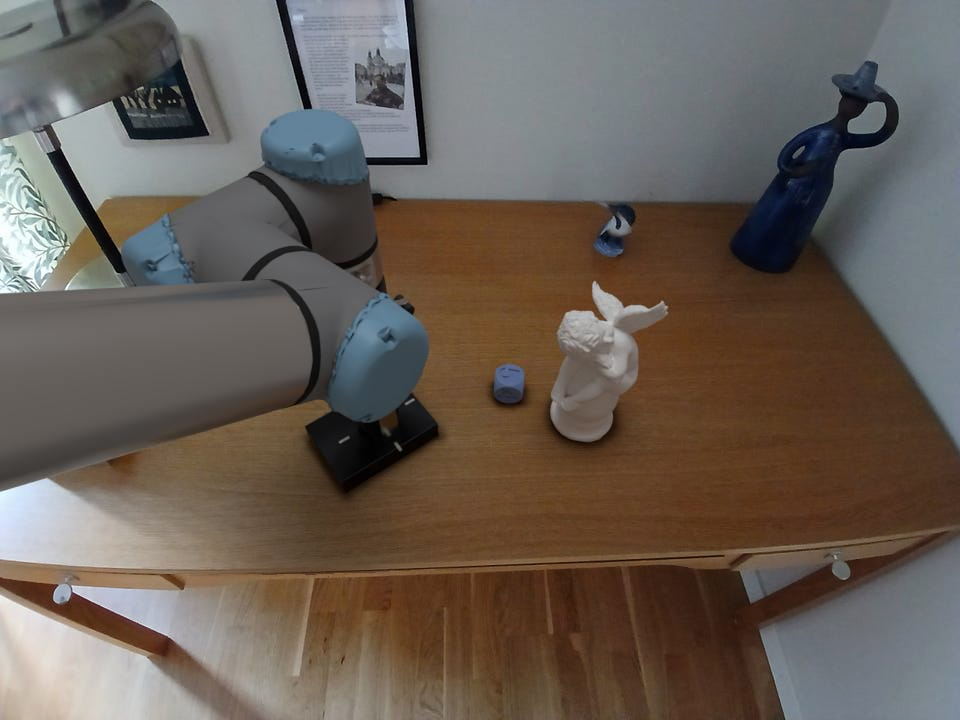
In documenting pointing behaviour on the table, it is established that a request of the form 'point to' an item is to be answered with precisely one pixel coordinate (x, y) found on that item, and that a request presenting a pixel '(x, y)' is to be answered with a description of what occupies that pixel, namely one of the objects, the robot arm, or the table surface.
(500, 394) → the decorative dice
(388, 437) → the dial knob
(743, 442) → the table surface
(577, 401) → the cherub figurine
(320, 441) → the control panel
